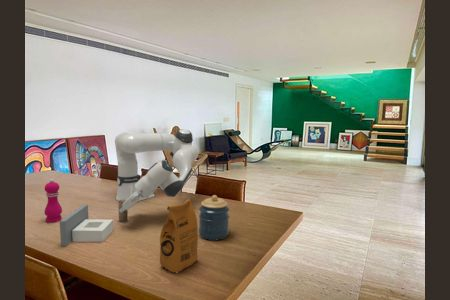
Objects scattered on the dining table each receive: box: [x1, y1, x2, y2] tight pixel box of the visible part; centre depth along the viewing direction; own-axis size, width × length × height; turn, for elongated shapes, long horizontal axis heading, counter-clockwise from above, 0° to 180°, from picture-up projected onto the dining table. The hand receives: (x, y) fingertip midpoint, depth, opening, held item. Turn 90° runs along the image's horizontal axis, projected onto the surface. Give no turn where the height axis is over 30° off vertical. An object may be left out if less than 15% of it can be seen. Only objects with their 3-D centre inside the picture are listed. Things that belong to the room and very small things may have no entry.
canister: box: [198, 194, 230, 241], centre depth 125 cm, size 13×13×18 cm
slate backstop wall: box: [59, 204, 89, 247], centre depth 122 cm, size 2×20×10 cm, turn 2°
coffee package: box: [159, 198, 199, 273], centre depth 100 cm, size 10×12×22 cm
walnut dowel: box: [117, 200, 129, 224], centre depth 139 cm, size 4×4×10 cm
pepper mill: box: [44, 178, 63, 223], centre depth 137 cm, size 7×7×20 cm
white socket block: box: [72, 218, 114, 243], centre depth 122 cm, size 12×12×5 cm
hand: (123, 208), depth 138 cm, fingers open, 8 cm apart
